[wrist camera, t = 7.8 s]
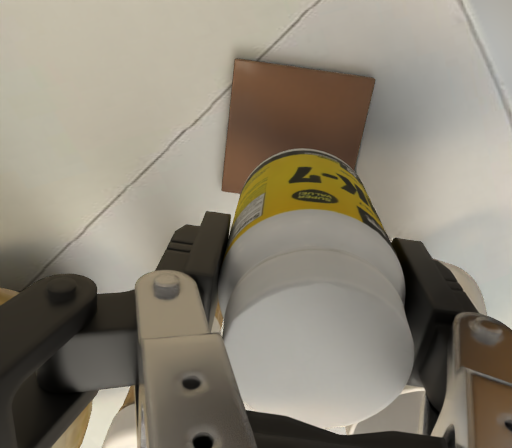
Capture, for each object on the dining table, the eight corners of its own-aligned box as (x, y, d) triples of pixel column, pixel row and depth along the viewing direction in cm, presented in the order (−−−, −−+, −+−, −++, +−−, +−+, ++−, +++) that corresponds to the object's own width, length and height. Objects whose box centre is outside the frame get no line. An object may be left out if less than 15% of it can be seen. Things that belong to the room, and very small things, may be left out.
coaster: (235, 58, 25) (234, 58, 25) (373, 77, 25) (375, 78, 25) (222, 188, 28) (221, 191, 28) (344, 205, 28) (345, 208, 28)
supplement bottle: (392, 189, 16) (490, 341, 8) (317, 280, 18) (343, 473, 10) (282, 118, 15) (281, 218, 8) (215, 222, 17) (162, 386, 9)
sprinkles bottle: (215, 332, 33) (178, 511, 21) (159, 312, 33) (87, 483, 21) (237, 286, 32) (209, 453, 19) (177, 264, 31) (110, 421, 19)
